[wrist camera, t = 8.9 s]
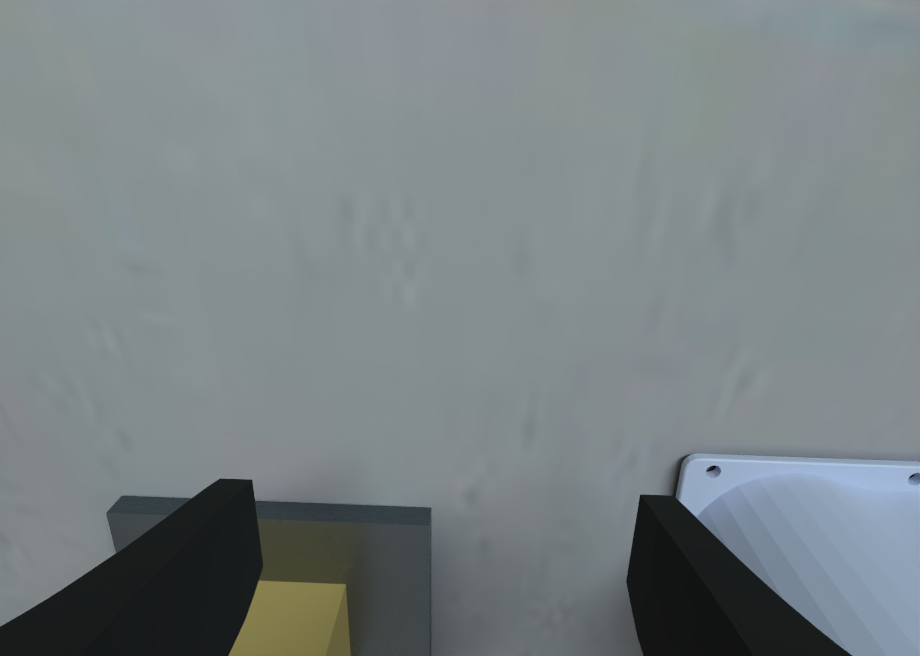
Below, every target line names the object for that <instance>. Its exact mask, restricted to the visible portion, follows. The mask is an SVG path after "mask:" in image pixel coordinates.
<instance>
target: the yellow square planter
mask: <svg viewBox="0 0 920 656" xmlns="http://www.w3.org/2000/svg"><path fill="white" fill-rule="evenodd" d="M229 656H351V653H350V638H349V624H348V609H347V594H346V584H327V583H303V582H279V581H258V584H257V588H256V591H255V594H254V597H253V600H252V602H251V605H250V608H249V611H248V614H247V617H246V619H245V622H244V624H243V626H242V628H241V630H240V632H239V635H238V637H237V639H236V641H235V643H234V645H233V647H232V649H231V651H230V654H229Z"/></svg>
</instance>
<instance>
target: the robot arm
mask: <svg viewBox="0 0 920 656" xmlns="http://www.w3.org/2000/svg"><path fill="white" fill-rule="evenodd" d="M714 465H715V466H716V468H715V469H714V470H712V471H706V470H707V468H709V467H710V466H714ZM914 473H915V475H914V476H913V477H911V478H909V477H910V476H911V475H913V474H914ZM262 569H263V559H262V551H261V544H260V536H259V528H258V521H257V513H256V506H255V498H254V491H253V483H252V480H242V479H219V480H217V481H216V482H214V483H213V484H211V485H210V486H208V487H207V488H206V489H204V490H203V491H201V492H200V493H199V494H197V495H196V496H194V497H193V498H192V499H190V500H189V501H188V502H186V503H185V504H184V505H182V506H181V507H180V508H178V509H177V510H176V511H174V512H173V513H172V514H170V515H169V516H167V517H166V518H165V519H163V520H162V521H161V522H159V523H158V524H157V525H155V526H154V527H152V528H151V529H150V530H148V531H147V532H145V533H144V534H143V535H141V536H140V537H139V538H137V539H136V540H134V541H133V542H132V543H130V544H129V545H128V546H126V547H125V548H123V549H122V550H121V551H119V552H118V553H116V554H115V555H113V556H112V557H110V558H109V559H107V560H106V561H104V562H103V563H101V564H100V565H98V566H97V567H95V568H94V569H92V570H91V571H89V572H88V573H86V574H85V575H83V576H82V577H80V578H79V579H77V580H76V581H74V582H73V583H71V584H70V585H68V586H67V587H65V588H64V589H62V590H61V591H59V592H58V593H56V594H54V595H53V596H51V597H50V598H48V599H47V600H45V601H43V602H42V603H40V604H38V605H37V606H35V607H33V608H32V609H30V610H28V611H27V612H25V613H23V614H22V615H20V616H18V617H16V618H15V619H13V620H11V621H9V622H8V623H6V624H4V625H3V626H1V627H0V656H229V654H230V651H231V649H232V647H233V645H234V643H235V641H236V639H237V637H238V635H239V632H240V630H241V628H242V626H243V624H244V622H245V619H246V617H247V614H248V611H249V608H250V605H251V602H252V600H253V597H254V594H255V591H256V588H257V584H258V581H259V578H260V575H261V572H262ZM626 582H627V587H628V592H629V597H630V602H631V607H632V613H633V617H634V622H635V627H636V631H637V636H638V639H639V642H640V646H641V649H642V652H643V655H644V656H920V462H917V461H890V460H862V459H834V458H806V457H778V456H751V455H723V454H692V455H690V456H688V457H687V458H686V459H684V460H683V463H682V465H681V471H680V476H679V481H678V487H677V492H676V497H675V496H664V495H640V499H639V506H638V512H637V518H636V524H635V531H634V537H633V543H632V549H631V556H630V562H629V568H628V575H627V581H626Z"/></svg>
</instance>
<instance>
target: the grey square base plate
mask: <svg viewBox="0 0 920 656" xmlns="http://www.w3.org/2000/svg"><path fill="white" fill-rule="evenodd" d="M189 500H190V498H164V497H138V496H121V497H120V498H119V500H118V501H117V502H116V503H115V504H114V505H113V506H112V507H111V508H110V509H109V510H108V512H107V513H106V514H107V518H108V522H109V526H110V530H111V534H112V538H113V542H114V546H115V550H116V553H118V552H119V551H121V550H122V549H123V548H125V547H126V546H128V545H129V544H130V543H132V542H133V541H134V540H136V539H137V538H139V537H140V536H141V535H143V534H144V533H145V532H147V531H148V530H150V529H151V528H152V527H154V526H155V525H157V524H158V523H159V522H161V521H162V520H163V519H165V518H166V517H167V516H169V515H170V514H172V513H173V512H174V511H176V510H177V509H178V508H180V507H181V506H182V505H184V504H185V503H186V502H188V501H189ZM255 506H256V513H257V521H258V528H259V536H260V544H261V551H262V559H263V569H262V572H261V575H260V578H259V581H279V582H303V583H327V584H346V594H347V609H348V624H349V638H350V653H351V656H431V508H421V507H396V506H370V505H344V504H318V503H293V502H267V501H255Z"/></svg>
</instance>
